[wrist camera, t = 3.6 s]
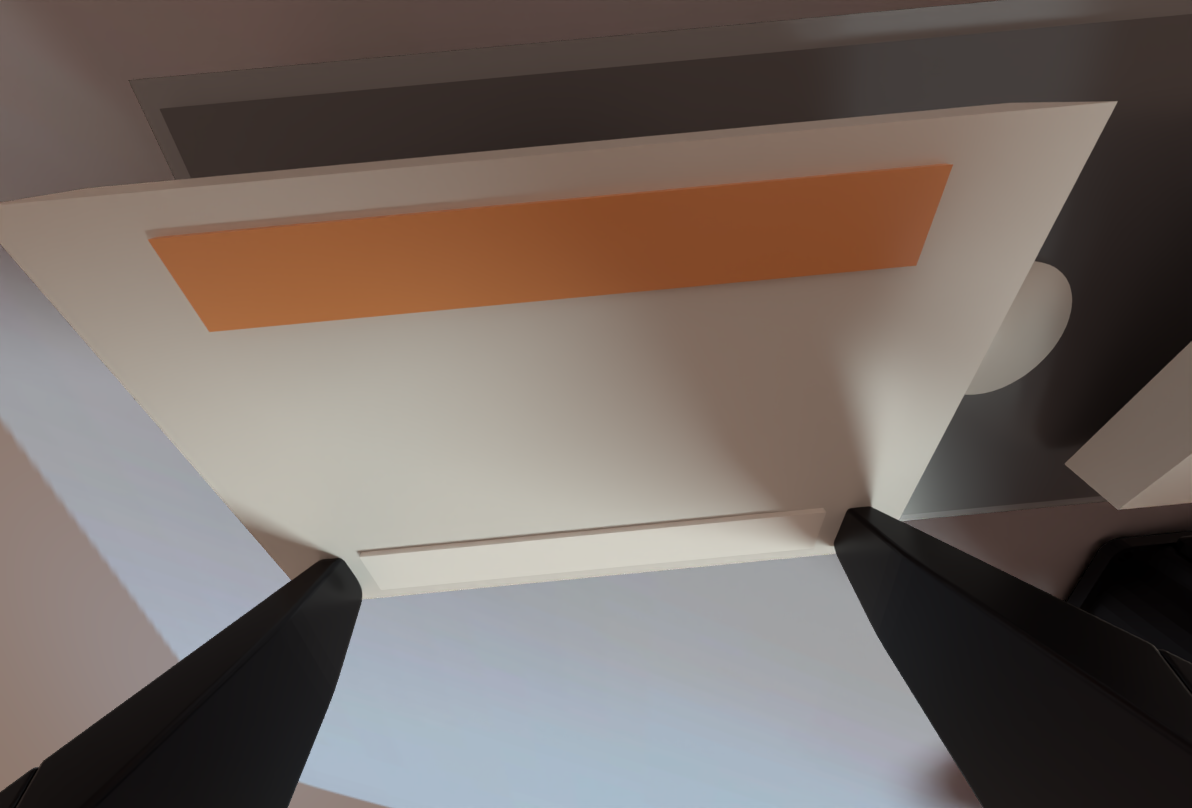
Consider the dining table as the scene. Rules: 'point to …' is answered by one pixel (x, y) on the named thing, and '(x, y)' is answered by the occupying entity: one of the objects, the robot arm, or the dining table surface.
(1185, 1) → the grey switch panel
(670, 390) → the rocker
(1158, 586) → the robot arm
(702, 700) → the dining table surface
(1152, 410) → the rocker
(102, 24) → the dining table surface
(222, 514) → the dining table surface
